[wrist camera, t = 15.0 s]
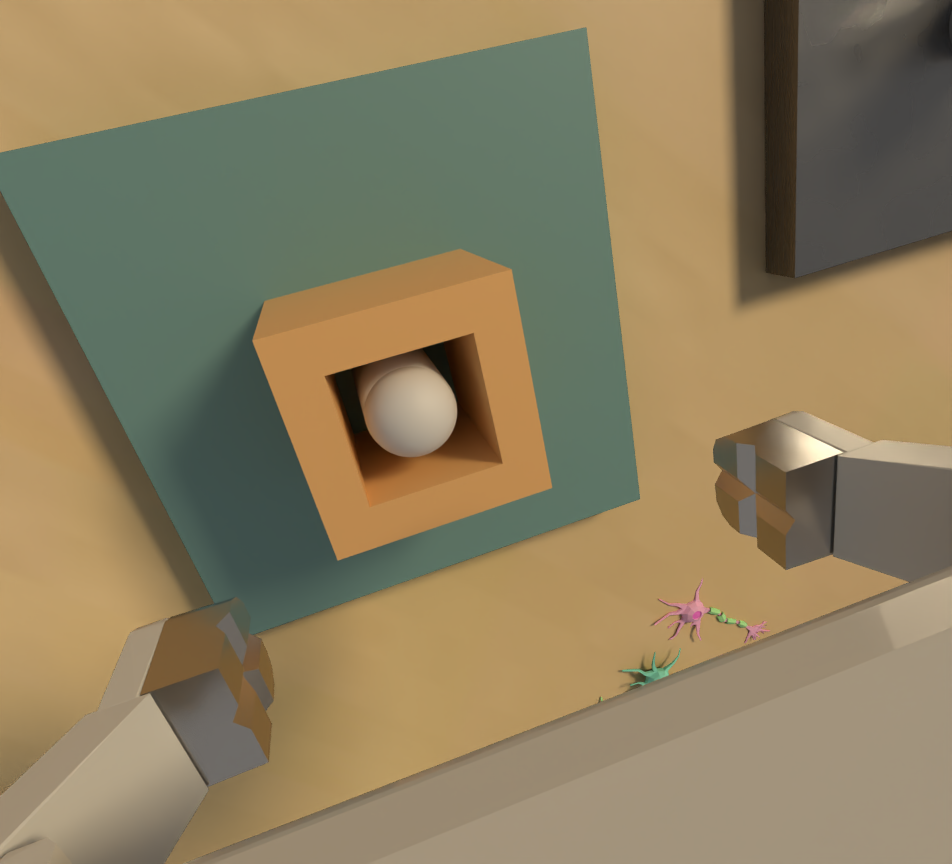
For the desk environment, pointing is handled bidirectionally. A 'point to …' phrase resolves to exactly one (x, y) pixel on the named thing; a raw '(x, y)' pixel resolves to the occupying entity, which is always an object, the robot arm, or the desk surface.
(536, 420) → the collar
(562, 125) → the hub plate
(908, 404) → the desk surface
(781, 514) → the robot arm
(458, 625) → the desk surface
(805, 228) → the stand
